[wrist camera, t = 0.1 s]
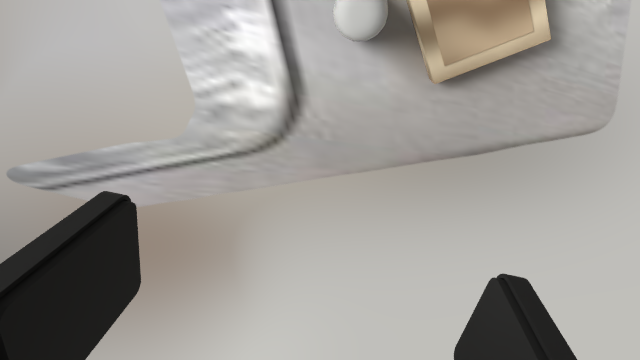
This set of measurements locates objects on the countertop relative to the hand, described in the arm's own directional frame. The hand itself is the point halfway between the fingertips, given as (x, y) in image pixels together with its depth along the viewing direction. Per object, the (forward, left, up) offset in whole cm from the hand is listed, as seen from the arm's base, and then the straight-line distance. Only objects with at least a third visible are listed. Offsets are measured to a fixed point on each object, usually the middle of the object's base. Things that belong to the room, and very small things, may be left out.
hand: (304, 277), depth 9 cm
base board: (-1, +14, -37) cm, 40 cm away
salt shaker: (-5, +3, -37) cm, 38 cm away
